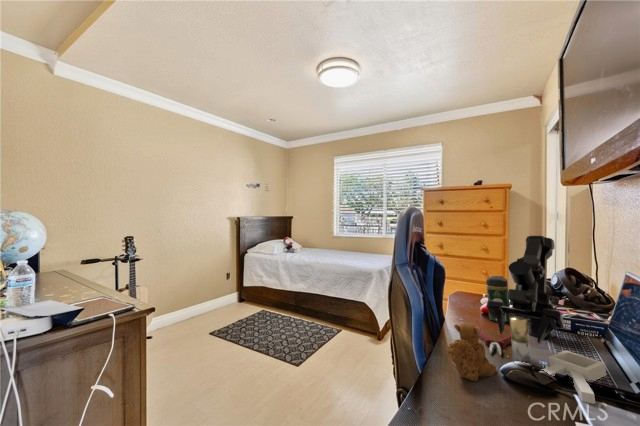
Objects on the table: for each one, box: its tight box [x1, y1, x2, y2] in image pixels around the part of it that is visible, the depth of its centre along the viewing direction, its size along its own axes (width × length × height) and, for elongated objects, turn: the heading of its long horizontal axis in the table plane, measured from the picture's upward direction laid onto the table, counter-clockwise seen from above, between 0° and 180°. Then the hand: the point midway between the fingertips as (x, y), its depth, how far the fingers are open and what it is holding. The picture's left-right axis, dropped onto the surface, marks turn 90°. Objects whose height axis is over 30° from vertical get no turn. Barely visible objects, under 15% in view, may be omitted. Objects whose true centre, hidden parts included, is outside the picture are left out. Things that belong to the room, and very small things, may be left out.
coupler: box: [509, 315, 532, 365], centre depth 81 cm, size 4×4×13 cm
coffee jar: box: [485, 275, 512, 323], centre depth 118 cm, size 10×8×19 cm
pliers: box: [478, 327, 512, 356], centre depth 93 cm, size 12×20×3 cm, turn 149°
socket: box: [541, 349, 607, 405], centre depth 70 cm, size 20×13×4 cm, turn 113°
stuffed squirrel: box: [445, 322, 497, 382], centre depth 76 cm, size 10×14×13 cm
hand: (519, 338), depth 80 cm, fingers open, 9 cm apart
